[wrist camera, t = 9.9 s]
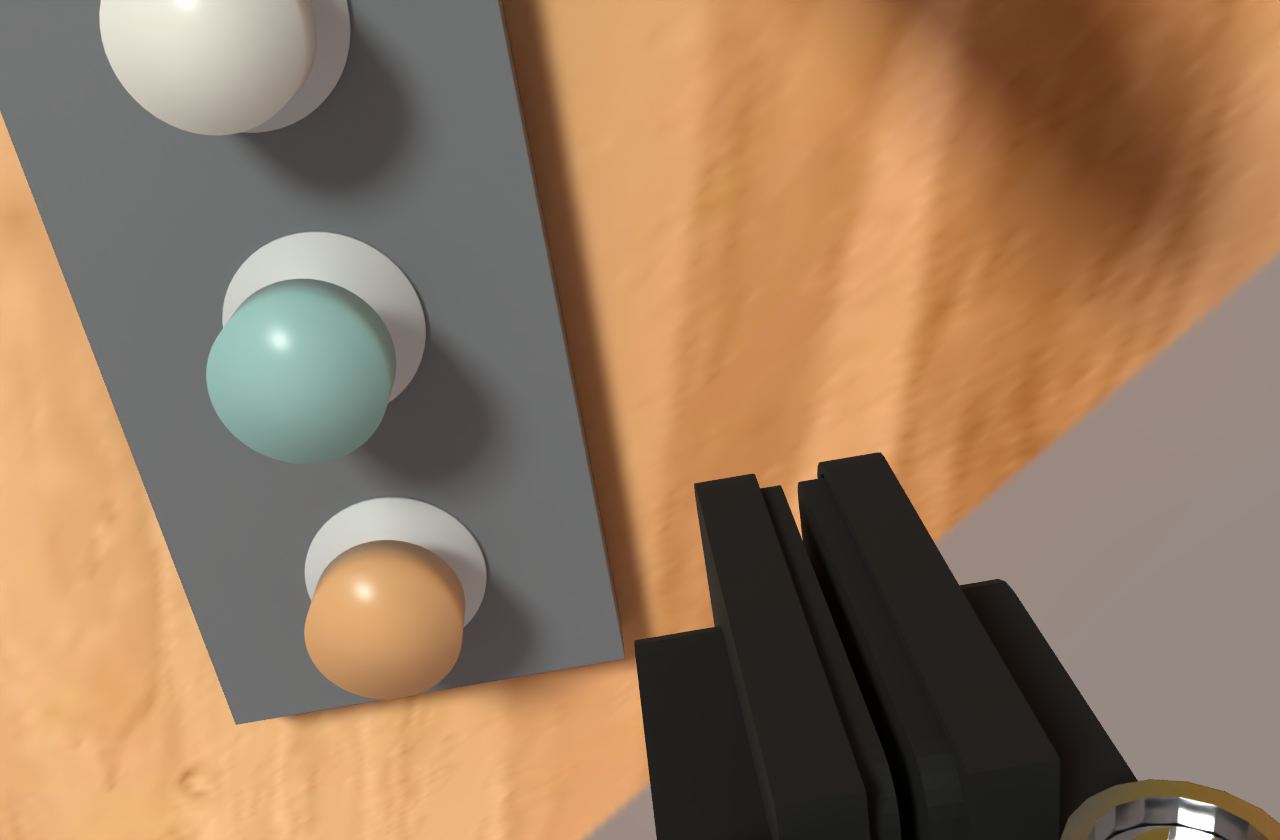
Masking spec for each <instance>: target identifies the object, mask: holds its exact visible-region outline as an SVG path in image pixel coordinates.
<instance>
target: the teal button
mask: <svg viewBox="0 0 1280 840" xmlns="http://www.w3.org/2000/svg"><path fill="white" fill-rule="evenodd" d="M395 375H396V353H395V348H394V344H393V341H392V338H391V335H390V333H389V331H388V329H387V327H386V325H385V324H384V322H383V321H382V319H381V318H380V316H379V315H378V314H377V313H376V312H375V310H374V309H373V308H372V307H371V306H370V305H369V304H367V303H366V302H365V301H364V300H363V299H361V298H360V297H359V296H357V295H356V294H354V293H352V292H351V291H349V290H347V289H345V288H343V287H340V286H338V285H335V284H333V283H329V282H325V281H322V280H315V279H289V280H284V281H279V282H275V283H273V284H270V285H267V286H265V287H263V288H261V289H259V290H258V291H256V292H254V293H253V294H252V295H250V296H249V297H248V298H247V299H246V300H245V301H244V302H243V303H242V304H241V305H240V306H239V307H238V308H237V310H236V311H235V312H234V314H233V315H232V317H231V318H230V319H229V321H228V322H227V324H226V325H225V326H224V328H223V329H222V331H221V332H220V334H219V335H218V336H217V338H216V340H215V342H214V344H213V346H212V348H211V351H210V354H209V357H208V362H207V368H206V381H207V389H208V393H209V396H210V400H211V402H212V405H213V407H214V409H215V411H216V413H217V415H218V416H219V418H220V420H221V421H222V422H223V424H224V425H225V426H226V428H227V429H228V430H229V431H230V432H231V433H232V434H233V435H234V436H235V437H236V438H237V439H239V440H240V441H241V442H242V443H243V444H245V445H246V446H248V447H250V448H251V449H253V450H254V451H256V452H258V453H260V454H262V455H264V456H267V457H270V458H273V459H275V460H279V461H284V462H288V463H296V464H315V463H323V462H327V461H332V460H335V459H338V458H340V457H343V456H345V455H347V454H349V453H351V452H353V451H354V450H356V449H357V448H359V447H360V446H362V445H363V444H364V443H365V442H366V441H367V440H368V439H369V438H370V437H371V436H372V435H373V433H374V432H375V431H376V429H377V428H378V426H379V424H380V423H381V421H382V419H383V416H384V414H385V411H386V408H387V404H388V401H389V398H390V394H391V391H392V387H393V384H394V380H395Z"/></svg>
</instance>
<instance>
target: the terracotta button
mask: <svg viewBox="0 0 1280 840" xmlns="http://www.w3.org/2000/svg"><path fill="white" fill-rule="evenodd" d="M465 608H466V605H465V595H464V590H463V587H462V584H461V582H460V580H459V578H458V576H457V575H456V573H455V572H454V571H453V569H452V568H451V567H450V566H449V565H448V564H447V563H446V562H445V561H444V560H443V559H442V558H440V557H439V556H438V555H436V554H435V553H433V552H431V551H430V550H428V549H425V548H423V547H421V546H418V545H415V544H413V543H408V542H404V541H396V540H378V541H371V542H366V543H362V544H359V545H357V546H354V547H352V548H350V549H348V550H346V551H344V552H343V553H341V554H340V555H338V556H337V557H336V558H335V559H333V560H332V561H331V562H330V563H329V565H328V566H327V567H326V568H325V569H324V571H323V573H322V574H321V576H320V578H319V581H318V583H317V586H316V589H315V592H314V595H313V599H312V602H311V605H310V608H309V611H308V614H307V618H306V622H305V629H304V636H305V644H306V648H307V651H308V653H309V656H310V658H311V660H312V661H313V663H314V664H315V666H316V667H317V668H318V670H319V671H320V672H321V673H322V674H323V675H324V676H325V677H326V678H327V679H328V680H330V681H331V682H332V683H334V684H335V685H337V686H338V687H340V688H342V689H344V690H346V691H348V692H351V693H353V694H356V695H359V696H363V697H368V698H374V699H398V698H405V697H409V696H413V695H416V694H419V693H421V692H423V691H426V690H428V689H430V688H431V687H433V686H434V685H436V684H437V683H439V682H440V681H441V680H442V679H443V678H444V677H445V676H446V675H447V674H448V673H449V672H450V671H451V669H452V668H453V666H454V665H455V663H456V661H457V659H458V657H459V653H460V650H461V644H462V636H463V627H464V618H465Z"/></svg>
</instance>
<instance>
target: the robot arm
mask: <svg viewBox="0 0 1280 840" xmlns="http://www.w3.org/2000/svg"><path fill="white" fill-rule="evenodd" d="M817 477H818V479H814V480H808V481H802V482H799V483H798V500H799V510H800V519H801V529H802V538H803V541H802V538H801V536H800V533H799V530H798V528H797V525H796V523H795V520H794V517H793V515H792V512H791V510H790V507H789V505H788V502H787V499H786V497H785V494H784V492H783V489H782V487H781V486H780V485H778V486H773V487H767V488H761V489H760V487H759V484H758V482H757V479H756V476H755V474H748V475H742V476H736V477H730V478H724V479H718V480H712V481H707V482H701V483H695V484H694V488H695V497H696V504H697V511H698V518H699V524H700V531H701V538H702V544H703V551H704V558H705V564H706V571H707V578H708V585H709V591H710V598H711V605H712V611H713V618H714V625H715V627H712V628H706V629H700V630H694V631H688V632H682V633H676V634H670V635H665V636H659V637H653V638H647V639H641V640H635V643H634V645H635V655H636V664H637V672H638V681H639V690H640V698H641V707H642V715H643V724H644V733H645V741H646V750H647V758H648V767H649V775H650V784H651V793H652V801H653V809H654V818H655V826H656V835H657V840H1280V823H1278V822H1277V821H1276V820H1275V819H1274V818H1272V817H1271V816H1270V815H1268V814H1267V813H1266V812H1265V811H1263V810H1262V809H1260V808H1258V807H1256V806H1254V805H1252V804H1250V803H1248V802H1246V801H1244V800H1242V799H1240V798H1238V797H1235V796H1233V795H1231V794H1229V793H1227V792H1225V791H1221V790H1217V789H1213V788H1209V787H1205V786H1202V785H1198V784H1194V783H1190V782H1185V781H1168V780H1151V779H1149V780H1144V781H1138V780H1137V779H1136V777H1135V776H1134V774H1133V773H1132V771H1131V770H1130V768H1129V767H1128V765H1127V764H1126V762H1125V761H1124V759H1123V757H1122V756H1121V754H1120V753H1119V751H1118V750H1117V748H1116V747H1115V745H1114V744H1113V743H1112V741H1111V739H1110V738H1109V736H1108V735H1107V733H1106V731H1105V730H1104V729H1103V727H1102V725H1101V724H1100V722H1099V721H1098V719H1097V718H1096V716H1095V715H1094V713H1093V712H1092V710H1091V709H1090V707H1089V706H1088V704H1087V702H1086V701H1085V700H1084V698H1083V696H1082V695H1081V694H1080V692H1079V690H1078V689H1077V687H1076V686H1075V684H1074V683H1073V681H1072V679H1071V678H1070V676H1069V675H1068V673H1067V672H1066V670H1065V669H1064V667H1063V666H1062V664H1061V663H1060V661H1059V660H1058V658H1057V657H1056V655H1055V653H1054V652H1053V650H1052V649H1051V647H1050V646H1049V644H1048V643H1047V641H1046V640H1045V638H1044V637H1043V635H1042V634H1041V632H1040V631H1039V629H1038V627H1037V626H1036V624H1035V623H1034V621H1033V620H1032V618H1031V617H1030V615H1029V614H1028V612H1027V611H1026V609H1025V608H1024V606H1023V605H1022V603H1021V601H1020V600H1019V598H1018V597H1017V595H1016V594H1015V592H1014V591H1013V590H1012V589H1011V588H1010V586H1009V585H1008V584H1007V583H1006V582H1005V581H1002V580H1000V579H995V580H989V581H983V582H978V583H972V584H966V585H960V586H959V584H958V583H957V581H956V579H955V578H954V576H953V574H952V572H951V571H950V569H949V567H948V565H947V564H946V562H945V560H944V559H943V557H942V555H941V554H940V552H939V550H938V548H937V547H936V545H935V543H934V541H933V540H932V538H931V536H930V535H929V533H928V531H927V529H926V528H925V526H924V524H923V523H922V521H921V519H920V517H919V516H918V514H917V512H916V511H915V509H914V507H913V505H912V504H911V502H910V500H909V498H908V497H907V495H906V493H905V492H904V490H903V488H902V486H901V485H900V483H899V481H898V480H897V478H896V476H895V474H894V473H893V471H892V469H891V468H890V466H889V464H888V462H887V461H886V459H885V457H884V456H883V455H882V454H881V453H872V454H866V455H860V456H854V457H849V458H843V459H837V460H831V461H825V462H819V464H818V472H817Z"/></svg>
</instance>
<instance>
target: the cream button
mask: <svg viewBox="0 0 1280 840" xmlns="http://www.w3.org/2000/svg"><path fill="white" fill-rule="evenodd" d="M99 17H100V31H101V38H102V42H103V46H104V50H105V53H106V55H107V58H108V60H109V63H110V65H111V67H112V69H113V71H114V73H115V74H116V76H117V78H118V79H119V81H120V82H121V84H122V85H123V86H124V88H125V89H126V90H127V92H128V93H129V94H130V95H131V96H132V97H133V98H134V99H135V100H136V101H137V102H138V103H139V104H140V105H141V106H142V107H143V108H144V109H146V110H147V111H148V112H150V113H151V114H153V115H154V116H155V117H157V118H158V119H160V120H162V121H164V122H166V123H167V124H169V125H172V126H174V127H177V128H179V129H181V130H185V131H188V132H192V133H196V134H203V135H217V136H221V135H231V134H236V133H240V132H244V131H247V130H250V129H252V128H255V127H257V126H259V125H260V124H262V123H264V122H266V121H267V120H268V119H270V118H271V117H272V116H274V115H275V114H276V113H277V112H278V111H279V110H281V109H282V108H283V107H284V106H285V105H286V104H287V103H288V102H289V101H291V99H292V98H293V97H294V96H295V95H296V94H297V93H298V92H299V91H300V89H301V88H302V86H303V85H304V84H305V82H306V80H307V78H308V76H309V74H310V72H311V69H312V66H313V63H314V59H315V54H316V47H317V28H316V21H315V15H314V11H313V8H312V5H311V2H310V0H101V3H100V11H99Z"/></svg>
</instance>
